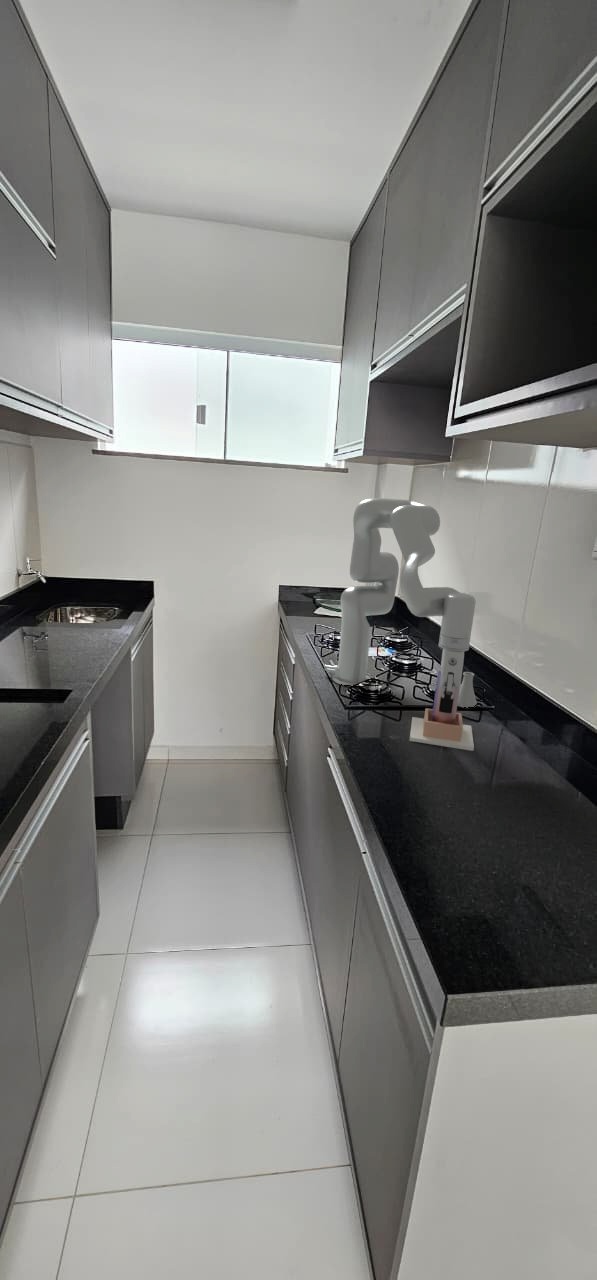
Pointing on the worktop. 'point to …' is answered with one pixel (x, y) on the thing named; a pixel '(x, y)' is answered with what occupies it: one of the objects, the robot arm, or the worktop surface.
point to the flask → (467, 691)
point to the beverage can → (436, 715)
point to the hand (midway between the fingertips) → (445, 707)
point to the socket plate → (442, 732)
